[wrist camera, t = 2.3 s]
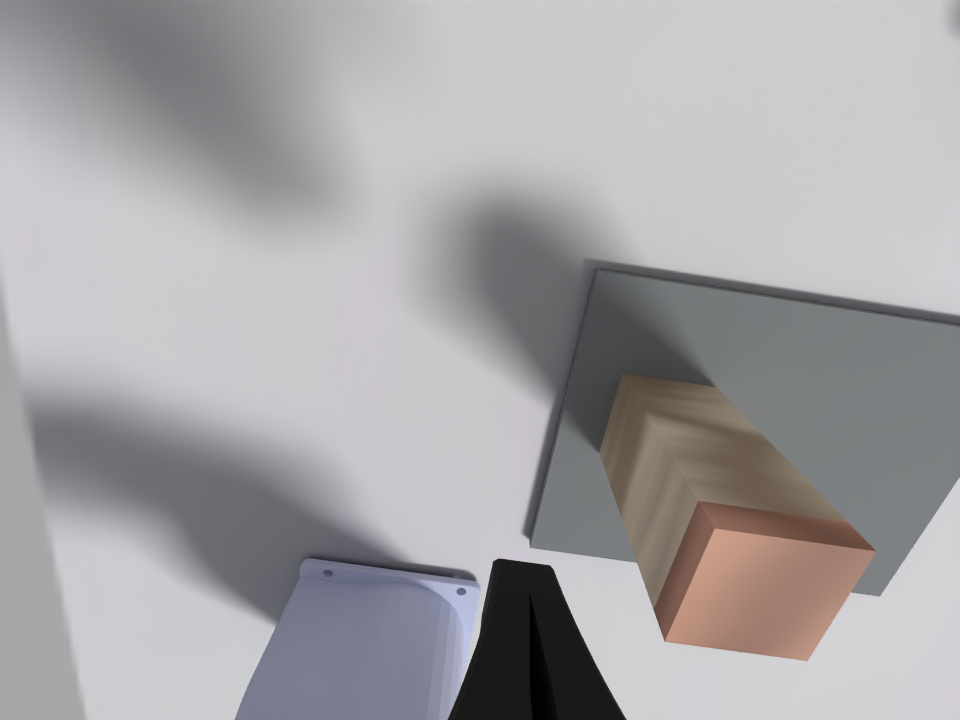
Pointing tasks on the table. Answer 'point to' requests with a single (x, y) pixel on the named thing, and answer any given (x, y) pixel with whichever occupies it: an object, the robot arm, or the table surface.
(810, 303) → the rubber mat
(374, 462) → the table surface
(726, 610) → the maple block
